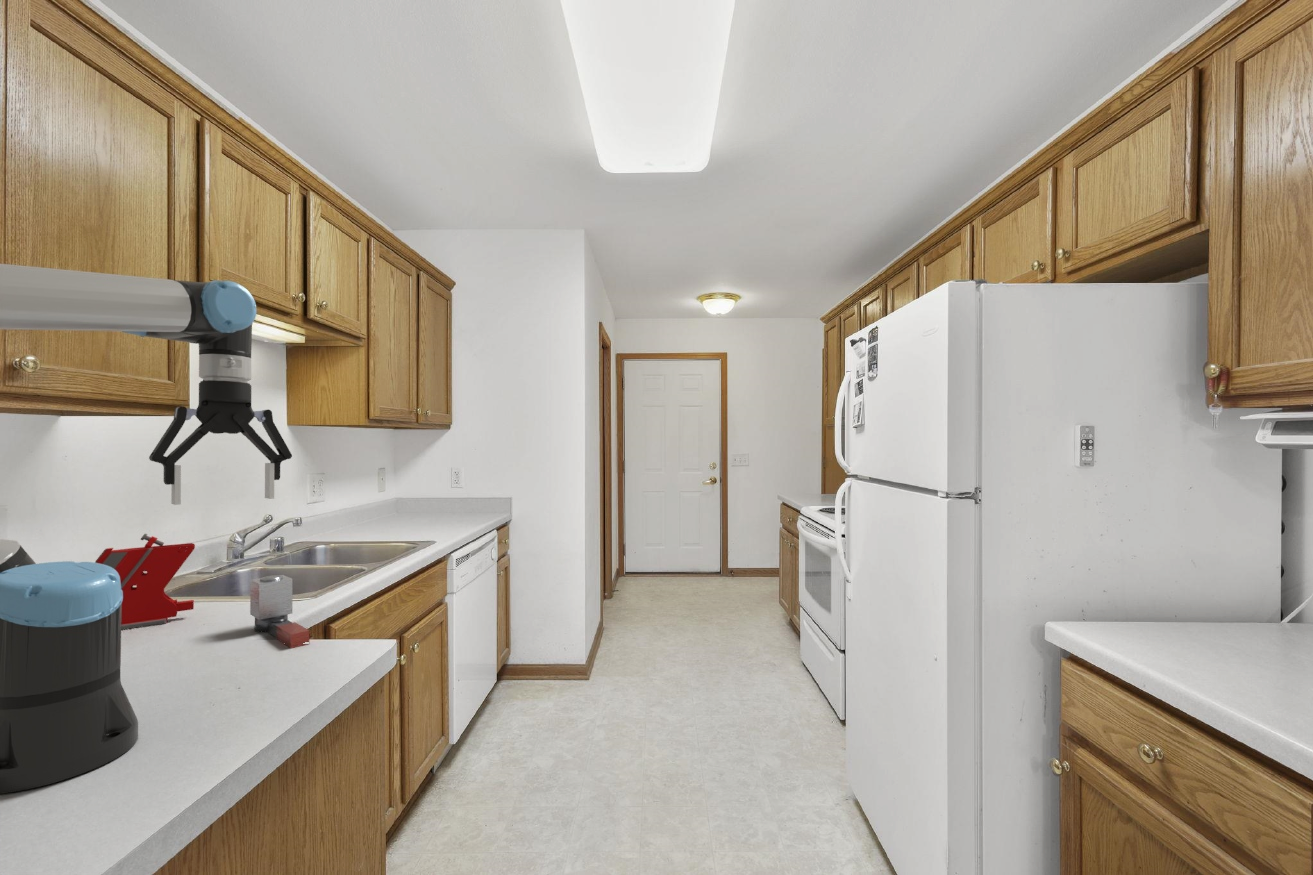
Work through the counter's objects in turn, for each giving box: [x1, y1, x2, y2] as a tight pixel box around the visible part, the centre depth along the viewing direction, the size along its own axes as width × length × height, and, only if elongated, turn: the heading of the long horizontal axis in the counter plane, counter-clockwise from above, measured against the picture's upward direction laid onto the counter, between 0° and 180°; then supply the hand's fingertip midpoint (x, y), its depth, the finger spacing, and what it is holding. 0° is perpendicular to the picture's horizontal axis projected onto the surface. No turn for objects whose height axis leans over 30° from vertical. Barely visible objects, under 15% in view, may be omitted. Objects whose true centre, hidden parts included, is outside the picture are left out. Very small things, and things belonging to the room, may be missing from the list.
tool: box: [94, 533, 196, 631], centre depth 124 cm, size 24×5×25 cm, turn 131°
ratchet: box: [254, 614, 310, 649], centre depth 118 cm, size 6×20×6 cm, turn 49°
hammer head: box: [249, 574, 293, 620], centre depth 123 cm, size 6×6×8 cm
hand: (225, 501), depth 103 cm, fingers open, 13 cm apart
